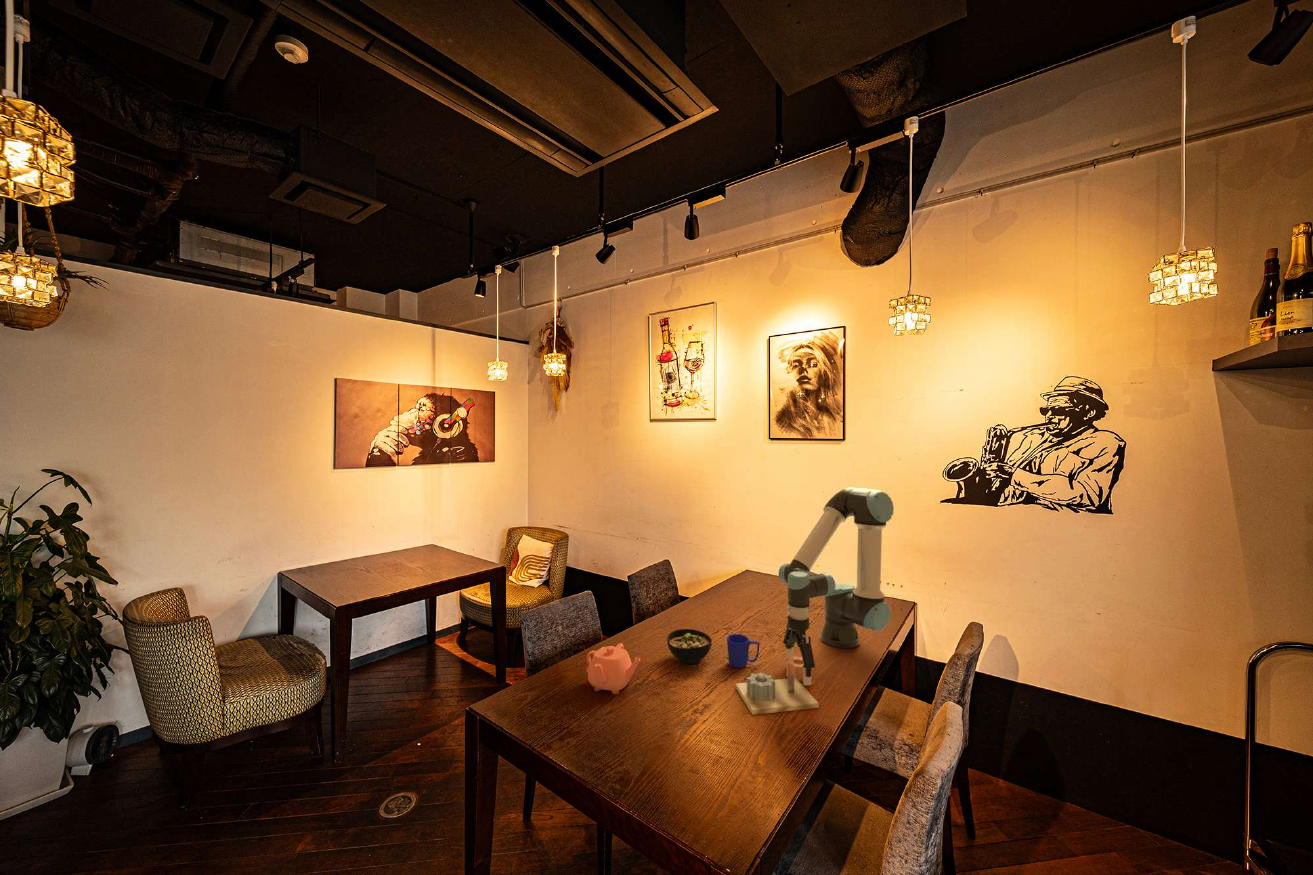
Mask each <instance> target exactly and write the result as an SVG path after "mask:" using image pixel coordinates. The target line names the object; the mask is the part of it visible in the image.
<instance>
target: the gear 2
mask: <svg viewBox="0 0 1313 875" xmlns="http://www.w3.org/2000/svg"><path fill="white" fill-rule="evenodd" d="M803 666H804V662H803V659H802V656H801V657H800V656H796V655H794V656H792V657H791V658H790V659H789V658H787V659H786V658H785V675H786V677H787V678H788V674H790V673H791V674H794V678H797V680H798V681H799V682H803ZM812 672H813V668H811V680H812V678H813V676H812V675H813V673H812Z"/></svg>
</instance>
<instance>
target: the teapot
mask: <svg viewBox="0 0 1313 875" xmlns="http://www.w3.org/2000/svg"><path fill="white" fill-rule="evenodd" d="M591 655H593V656H592V658H591ZM586 662H587V664H588V666H587V667H586V673H587V681H588V682H589V684H590V685H591V687H594V688H593V690H594V691H595V692H601V691H602V690H603V691H611V694H612V695H618V694H620V690H622V689H623V690H624V688H625V687H626V686H627V685H628V684H629V682H630V680H631V679H632V676H633V674H634V673H635V671H636V668H637V666H638V665H639V663H640V662H641V658H640V657H635V658H634V660H633V662H632V660H631V657H630V654H629V653H628V651H627V650H626V649H625V647H624V644H623V643H621V642H620V643H618V644H617V645H616V646H613V645H609V646H602V647H600V648H599V649H597V650H591V651H589V652H588V653H587V655H586Z"/></svg>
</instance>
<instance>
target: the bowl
mask: <svg viewBox="0 0 1313 875" xmlns="http://www.w3.org/2000/svg"><path fill="white" fill-rule="evenodd" d="M712 640H713V639H712V638H711V637H710V635H708V634H707V633H705V632H702V631H700V630H697V629H690V628H682V629H677V630H673V631H672V632H669V633H668V636H667V639H666V641H667V647H668V650H669V652H670V653H671V654H672V655H673V656H674V657H675V658H676V660H677V661H678V663H679V664H681V665H682V666H684V667H685V666H686V667H694V666H698V665H699V664H700V663H701V662H702V660H703V659H704V658H705V657H706V656H708V654H709V653H710V650H711V648H712V643H713V641H712Z"/></svg>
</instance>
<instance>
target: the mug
mask: <svg viewBox="0 0 1313 875" xmlns="http://www.w3.org/2000/svg"><path fill="white" fill-rule="evenodd" d="M753 644H754V645H757V649H756V655H755V658H753V659H750V657H749V651H750V647H751V645H753ZM726 646H727V656H728V664H729V665H730V666H731V667H733V668H736V669H741V668H745V667H746V666H747V665H748V662H750V663H755V662H757V660H758V658H759V654H760V642H759V641H754V640H750V638H749V637H748V636H746V635H744V634H740V633H733V634H729V635H728V636H727V637H726Z"/></svg>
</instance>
